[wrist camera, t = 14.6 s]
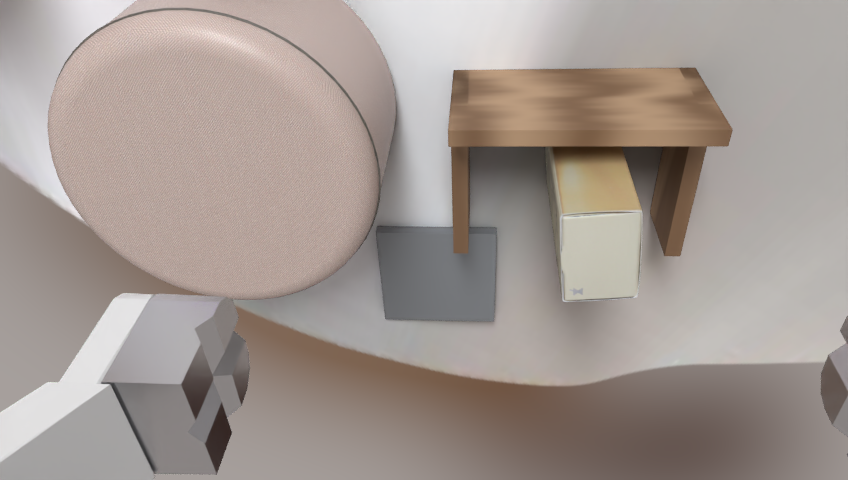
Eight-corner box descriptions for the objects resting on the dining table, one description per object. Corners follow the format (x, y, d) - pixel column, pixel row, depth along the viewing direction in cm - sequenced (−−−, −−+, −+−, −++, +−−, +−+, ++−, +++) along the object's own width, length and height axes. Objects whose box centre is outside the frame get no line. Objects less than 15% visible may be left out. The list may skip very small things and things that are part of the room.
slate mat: (496, 227, 50) (496, 234, 50) (494, 314, 56) (493, 321, 55) (377, 226, 51) (376, 232, 50) (386, 312, 57) (385, 319, 56)
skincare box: (608, 185, 47) (639, 304, 38) (546, 189, 48) (561, 308, 38) (611, 102, 44) (646, 210, 34) (543, 108, 44) (559, 217, 35)
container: (151, 186, 50) (76, 290, 41) (106, -69, 39) (-10, -5, 30) (389, 216, 51) (368, 327, 41) (411, -31, 39) (388, 46, 30)
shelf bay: (695, 67, 42) (732, 129, 35) (664, 212, 48) (690, 286, 42) (453, 70, 43) (448, 130, 37) (456, 211, 50) (451, 282, 43)
